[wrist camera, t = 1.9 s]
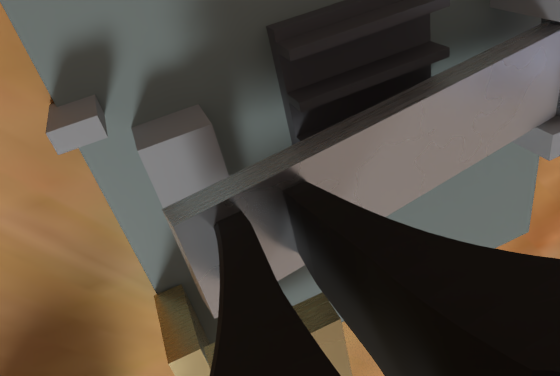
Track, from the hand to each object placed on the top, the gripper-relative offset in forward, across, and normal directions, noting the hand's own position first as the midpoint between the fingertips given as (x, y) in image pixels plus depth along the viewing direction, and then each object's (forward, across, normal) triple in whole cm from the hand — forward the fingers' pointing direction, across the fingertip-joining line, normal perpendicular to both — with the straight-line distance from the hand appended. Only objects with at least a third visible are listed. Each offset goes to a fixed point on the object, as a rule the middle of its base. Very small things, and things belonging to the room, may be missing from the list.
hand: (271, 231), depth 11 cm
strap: (+2, -5, 0) cm, 5 cm away
